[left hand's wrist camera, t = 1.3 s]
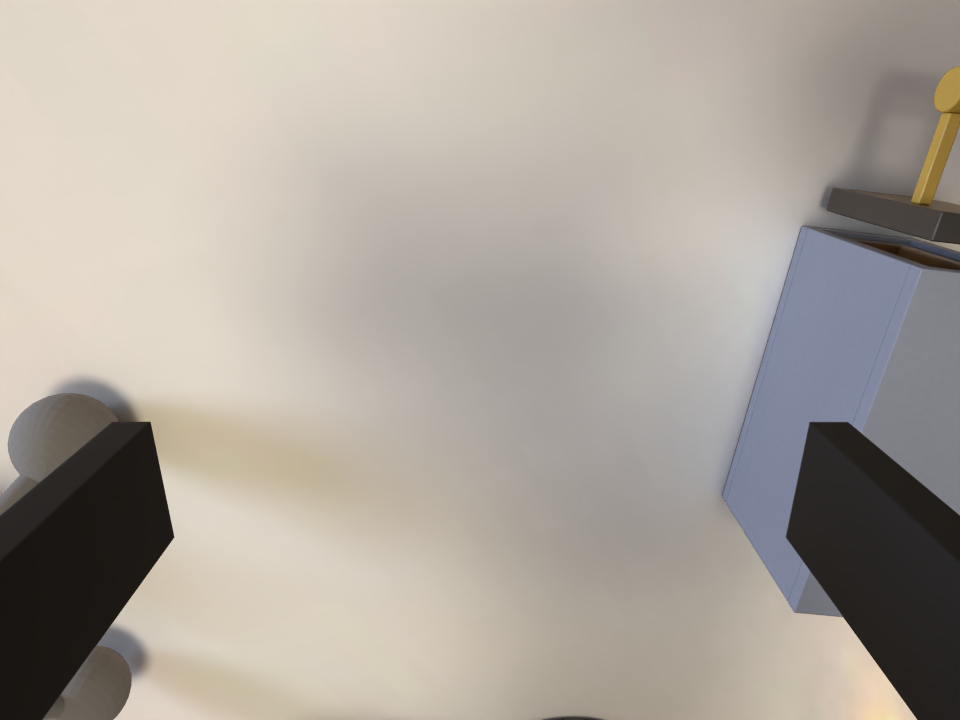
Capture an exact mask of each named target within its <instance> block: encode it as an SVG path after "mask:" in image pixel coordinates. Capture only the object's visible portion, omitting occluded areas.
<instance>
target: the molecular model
mask: <svg viewBox="0 0 960 720" xmlns="http://www.w3.org/2000/svg"><path fill="white" fill-rule="evenodd" d="M111 422H118V420H117V418H116V417H115V415H114V414H113V412H112V411H111V410H110V409H109V408H108V407H107V406H105V405H104V404H103V403H101V402H100V401H98V400H96V399H94V398H92V397H89V396H86V395H80V394H72V393H70V394H58V395H53V396H48V397H46V398H44V399H41V400H39V401H37V402H35V403H33V404H32V405H31V406H29V407H28V408H27V409H25V410H24V411H23V412H22V413H21V414H20V415H19V417H18V418H17V419H16V421H15V422H14V424H13V426H12V428H11V431H10V434H9V440H8V452H9V455H10V459H11V462H12V464H13V465H14V467H15V469H16V470H17V471H18V472H19V474H21V475H20V476H19V477H18V478H17V479H16V480H15V481H14V482H13V483H12V485H11V486H10V487H9V488H8V489H7V490H6V491H5V492H4V493H3V494H2V495H1V496H0V515H1V514H2V513H4V512H5V511H6V510H7V509H8V508H10V507H11V506H12V505H13V504H14V503H16V502H17V501H18V500H19V499H20V498H22V497H23V496H24V495H25V494H26V493H28V492H29V491H30V490H31V489H32V488H34V487H35V486H36V485H37V484H38V483H40V482H41V481H42V480H43V479H44V478H46V477H47V476H48V475H49V474H50V473H52V472H53V471H54V470H55V469H56V468H57V467H59V466H60V465H61V464H62V463H63V462H65V461H66V460H67V459H68V458H69V457H71V456H72V455H73V454H74V453H75V452H77V451H78V450H79V449H80V448H81V447H83V446H84V445H85V444H86V443H87V442H89V441H90V440H91V439H92V438H93V437H95V436H96V435H97V434H98V433H99V432H101V431H102V430H103V429H104V428H105V427H107V426H108V425H109V424H110V423H111ZM130 689H131V672H130V669H129V666H128V664H127V662H126V660H125V659H124V658H123V657H122V656H121V655H120V654H119V653H117V652H116V651H114V650H112V649H109V648H106V647H101V646H95V648H94V649H93V651H92V652H91V653H90V655H89V656H88V657H87V659H86V660H85V662H84V663H83V664H82V666H81V667H80V668H79V670H78V671H77V673H76V674H75V675H74V677H73V678H72V680H71V681H70V682H69V684H68V685H67V686H66V688H65V689H64V691H63V692H62V693H61V695H60V696H59V698H58V699H57V700H56V702H55V703H54V704H53V706H52V707H51V709H50V710H49V711H48V713H47V714H46V716H45V717H44V718H43V720H113V719H114V718H115V717H116V716H117V715H118V714H119V713H120V711H121V710H122V709H123V707H124V705H125V703H126V701H127V699H128V697H129V693H130Z"/></svg>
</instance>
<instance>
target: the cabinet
mask: <svg viewBox="0 0 960 720" xmlns="http://www.w3.org/2000/svg"><path fill="white" fill-rule="evenodd" d="M847 238H851V239H860V240H869V241H877V242H886V243H894V244H903V245H907V246H910V247H913V248H916V249H920V250H923V251H926V252H929V253H932V254H935V255H939V256H942V257H945V258H948V259H951V260H954V261H958V262H960V252H958V251H954V250H951V249H948V248H944V247H941V246H937V245H934V244H931V243H927V242H924V241H920V240H917V239H911V238H903V237H894V236H886V235H877V234H869V233H860V232H851V231H843V230H834V229H826V228H817V227H809V226H802V228H801V231H800V235H799V238H798V241H797V245H796V248H795V251H794V255H793V258H792V262H791V265H790V268H789V272H788V275H787V279H786V282H785V285H784V289H783V292H782V296H781V299H780V302H779V306H778V309H777V313H776V316H775V319H774V323H773V326H772V330H771V333H770V336H769V340H768V343H767V347H766V350H765V353H764V357H763V360H762V363H761V367H760V370H759V374H758V377H757V380H756V384H755V387H754V391H753V394H752V397H751V401H750V404H749V408H748V411H747V414H746V418H745V421H744V425H743V428H742V431H741V435H740V438H739V442H738V445H737V448H736V452H735V455H734V458H733V462H732V465H731V469H730V472H729V475H728V479H727V482H726V486H725V489H724V492H723V496H722V497H723V499H724V500H725V502H726V504H727V505H728V507H729V509H730V510H731V512H732V513H733V515H734V517H735V518H736V520H737V521H738V523H739V525H740V526H741V528H742V529H743V531H744V533H745V534H746V536H747V537H748V539H749V541H750V542H751V544H752V545H753V547H754V549H755V550H756V552H757V553H758V555H759V557H760V558H761V560H762V561H763V563H764V565H765V566H766V568H767V569H768V571H769V573H770V574H771V576H772V577H773V579H774V581H775V582H776V584H777V585H778V587H779V589H780V590H781V592H782V593H783V595H784V597H785V598H786V600H787V601H788V603H789V605H790V606H791V608H792V610H793V611H794V612H795V613H805V614H815V615H826V616H837V617H843V616H842V615H841V613H840V612H839V610H838V609H837V608H836V606H835V605H834V603H833V602H832V601H831V599H830V598H829V597H828V595H827V594H826V592H825V591H824V590H823V588H822V587H821V585H820V584H819V583H818V581H817V580H816V579H815V577H814V576H813V574H812V573H811V572H810V570H809V569H808V567H807V566H806V565H805V563H804V562H803V561H802V559H801V558H800V556H799V555H798V554H797V552H796V551H795V549H794V548H793V547H792V545H791V544H790V543H789V541H788V540H787V538H786V533H787V529H788V524H789V519H790V514H791V509H792V504H793V500H794V495H795V490H796V485H797V480H798V475H799V471H800V466H801V461H802V456H803V451H804V446H805V442H806V437H807V432H808V427H809V422H849V423H850V424H851V425H852V426H853V427H855V428H856V429H857V430H858V431H859V432H861V433H862V434H863V435H864V436H865V437H867V438H868V439H869V440H870V441H871V442H873V443H874V444H875V445H876V446H877V447H879V448H880V449H881V450H882V451H883V452H885V453H886V454H887V455H888V456H889V457H891V458H892V459H893V460H894V461H895V462H897V463H898V464H899V465H900V466H901V467H903V468H904V469H905V470H906V471H907V472H908V473H910V474H911V475H912V476H913V477H914V478H916V479H917V480H918V481H919V482H920V483H922V484H923V485H924V486H925V487H926V488H928V489H929V490H930V491H931V492H932V493H934V494H935V495H936V496H937V497H938V498H940V499H941V500H942V501H943V502H944V503H946V504H947V505H948V506H949V507H950V508H952V509H953V510H954V511H955V512H956V513H958V514H959V515H960V270H953V269H945V268H936V267H927V266H924V265H921V264H919V263H916V262H913V261H910V260H907V259H904V258H901V257H898V256H896V255H893V254H890V253H887V252H884V251H881V250H878V249H875V248H873V247H870V246H867V245H864V244H861V243H858V242H855V241H852V240H850V239H847Z"/></svg>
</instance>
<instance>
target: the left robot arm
mask: <svg viewBox="0 0 960 720" xmlns="http://www.w3.org/2000/svg"><path fill="white" fill-rule="evenodd" d="M173 538H174V533H173V529H172V524H171V519H170V514H169V509H168V504H167V500H166V495H165V490H164V485H163V480H162V475H161V471H160V466H159V461H158V456H157V451H156V446H155V442H154V437H153V432H152V427H151V422H111V423H110V424H109V425H108V426H107V427H105V428H104V429H103V430H102V431H101V432H99V433H98V434H97V435H96V436H95V437H93V438H92V439H91V440H90V441H89V442H87V443H86V444H85V445H84V446H83V447H81V448H80V449H79V450H78V451H77V452H75V453H74V454H73V455H72V456H71V457H69V458H68V459H67V460H66V461H65V462H63V463H62V464H61V465H60V466H59V467H57V468H56V469H55V470H54V471H53V472H52V473H50V474H49V475H48V476H47V477H46V478H44V479H43V480H42V481H41V482H40V483H38V484H37V485H36V486H35V487H34V488H32V489H31V490H30V491H29V492H28V493H26V494H25V495H24V496H23V497H22V498H20V499H19V500H18V501H17V502H16V503H14V504H13V505H12V506H11V507H10V508H8V509H7V510H6V511H5V512H4V513H2V514H1V515H0V720H43V718H44V717H45V716H46V714H47V713H48V711H49V710H50V709H51V707H52V706H53V704H54V703H55V702H56V700H57V699H58V698H59V696H60V695H61V693H62V692H63V691H64V689H65V688H66V686H67V685H68V684H69V682H70V681H71V680H72V678H73V677H74V675H75V674H76V673H77V671H78V670H79V668H80V667H81V666H82V664H83V663H84V662H85V660H86V659H87V657H88V656H89V655H90V653H91V652H92V651H93V649H94V648H95V646H96V645H97V644H98V642H99V641H100V639H101V638H102V637H103V635H104V634H105V633H106V631H107V630H108V628H109V627H110V626H111V624H112V623H113V621H114V620H115V619H116V617H117V616H118V615H119V613H120V612H121V610H122V609H123V608H124V606H125V605H126V603H127V602H128V601H129V599H130V598H131V597H132V595H133V594H134V592H135V591H136V590H137V588H138V587H139V585H140V584H141V583H142V581H143V580H144V579H145V577H146V576H147V574H148V573H149V572H150V570H151V569H152V567H153V566H154V565H155V563H156V562H157V561H158V559H159V558H160V556H161V555H162V554H163V552H164V551H165V549H166V548H167V547H168V545H169V544H170V543H171V541H172V540H173ZM786 538H787V540H788V541H789V543H790V544H791V545H792V547H793V548H794V549H795V551H796V552H797V554H798V555H799V556H800V558H801V559H802V561H803V562H804V563H805V565H806V566H807V567H808V569H809V570H810V572H811V573H812V574H813V576H814V577H815V579H816V580H817V581H818V583H819V584H820V585H821V587H822V588H823V590H824V591H825V592H826V594H827V595H828V597H829V598H830V599H831V601H832V602H833V603H834V605H835V606H836V608H837V609H838V610H839V612H840V613H841V615H842V616H843V617H844V619H845V620H846V621H847V623H848V624H849V626H850V627H851V628H852V630H853V631H854V633H855V634H856V635H857V637H858V638H859V639H860V641H861V642H862V644H863V645H864V646H865V648H866V649H867V651H868V652H869V653H870V655H871V656H872V657H873V659H874V660H875V662H876V663H877V664H878V666H879V667H880V668H881V670H882V671H883V673H884V674H885V675H886V677H887V678H888V680H889V681H890V682H891V684H892V685H893V686H894V688H895V689H896V691H897V692H898V693H899V695H900V696H901V698H902V699H903V700H904V702H905V703H906V704H907V706H908V707H909V709H910V710H911V711H912V713H913V714H914V716H915V717H916V718H917V720H960V515H959V514H958V513H956V512H955V511H954V510H953V509H952V508H950V507H949V506H948V505H947V504H946V503H944V502H943V501H942V500H941V499H940V498H938V497H937V496H936V495H935V494H934V493H932V492H931V491H930V490H929V489H928V488H926V487H925V486H924V485H923V484H922V483H920V482H919V481H918V480H917V479H916V478H914V477H913V476H912V475H911V474H910V473H908V472H907V471H906V470H905V469H904V468H903V467H901V466H900V465H899V464H898V463H897V462H895V461H894V460H893V459H892V458H891V457H889V456H888V455H887V454H886V453H885V452H883V451H882V450H881V449H880V448H879V447H877V446H876V445H875V444H874V443H873V442H871V441H870V440H869V439H868V438H867V437H865V436H864V435H863V434H862V433H861V432H859V431H858V430H857V429H856V428H855V427H853V426H852V425H851V424H850V423H849V422H809V427H808V432H807V437H806V442H805V446H804V451H803V456H802V461H801V466H800V471H799V475H798V480H797V485H796V490H795V495H794V500H793V504H792V509H791V514H790V519H789V524H788V529H787V533H786ZM566 720H582V719H566Z"/></svg>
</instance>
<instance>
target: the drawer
mask: <svg viewBox="0 0 960 720" xmlns="http://www.w3.org/2000/svg"><path fill="white" fill-rule="evenodd" d="M934 105H935V108H936V109H937V110H938V111H940V112H946V113H942V114H941V117H940V120H939V123H938V126H937V128H936V131H935V134H934V137H933V140H932V143H931V145H930V148H929V151H928V154H927V157H926V160H925V163H924V165H923V168H922V171H921V174H920V177H919V180H918V182H917V185H916V188H915V191H914V194H913V197H907V196H899V195H891V194H882V193H874V192H866V191H857V190H849V189H840V188H833V190H832V193H831V196H830V200H829V203H828V206H827V211H829V212H833V213H836V214H840V215H843V216H847V217H850V218H854V219H857V220H861V221H864V222H868V223H871V224H874V225H878V226H881V227H885V228H888V229H892V230H895V231H899V232H902V233H906V234H909V235H913V236H916V237H920V238H923V239H927V240H930V241H936V242H944V243H953V244H960V205H957V204H952V203H947V202H941V201H936V200H933V197H934V194H935V192H936V189H937V186H938V183H939V181H940V178H941V175H942V172H943V170H944V167H945V164H946V161H947V159H948V156H949V153H950V150H951V148H952V145H953V142H954V139H955V137H956V134H957V131H958V128H959V126H960V66H958V67H955V68H952V69H951V70H949V71H948V72H947V73H946V74H945V75H944V76H943V78H942V79H941V81H940V82H939V84H938V86H937V89H936V91H935V95H934ZM847 239H850V240H852V241H855V242H858V243H861V244H864V245H867V246H870V247H873V248H875V249H878V250H881V251H884V252H887V253H890V254H893V255H896V256H898V257H901V258H904V259H907V260H910V261H913V262H916V263H919V264H921V265H924V266H927V267H936V268H945V269H953V270H960V262H958V261H954V260H951V259H948V258H945V257H942V256H939V255H935V254H932V253H929V252H926V251H923V250H920V249H916V248H913V247H910V246H907V245H903V244H894V243H886V242H877V241H869V240H860V239H851V238H847Z"/></svg>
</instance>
